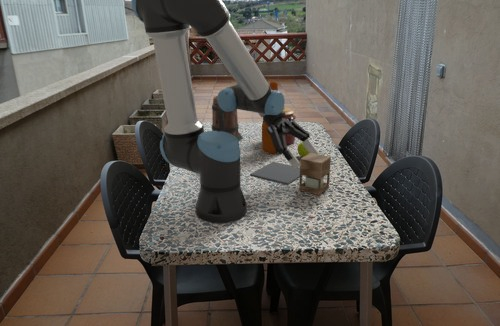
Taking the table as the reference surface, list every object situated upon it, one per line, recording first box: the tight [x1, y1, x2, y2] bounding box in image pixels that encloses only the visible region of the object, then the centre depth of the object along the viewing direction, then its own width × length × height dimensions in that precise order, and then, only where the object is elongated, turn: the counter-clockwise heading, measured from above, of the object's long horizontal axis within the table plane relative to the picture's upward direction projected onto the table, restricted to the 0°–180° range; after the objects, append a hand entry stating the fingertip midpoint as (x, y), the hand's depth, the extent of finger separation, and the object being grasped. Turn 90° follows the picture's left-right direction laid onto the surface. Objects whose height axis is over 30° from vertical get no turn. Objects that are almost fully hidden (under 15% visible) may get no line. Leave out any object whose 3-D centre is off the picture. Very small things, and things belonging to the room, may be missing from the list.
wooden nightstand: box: [298, 153, 332, 196], centre depth 130 cm, size 7×7×11 cm
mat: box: [250, 161, 300, 186], centre depth 146 cm, size 16×16×1 cm
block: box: [304, 176, 325, 189], centre depth 132 cm, size 4×4×4 cm
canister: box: [283, 105, 297, 146], centre depth 181 cm, size 13×13×18 cm
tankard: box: [211, 95, 244, 142], centre depth 184 cm, size 24×17×20 cm
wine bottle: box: [261, 80, 279, 155], centre depth 166 cm, size 10×10×30 cm
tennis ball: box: [297, 141, 309, 158], centre depth 162 cm, size 7×7×7 cm
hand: (307, 161), depth 133 cm, fingers open, 13 cm apart
